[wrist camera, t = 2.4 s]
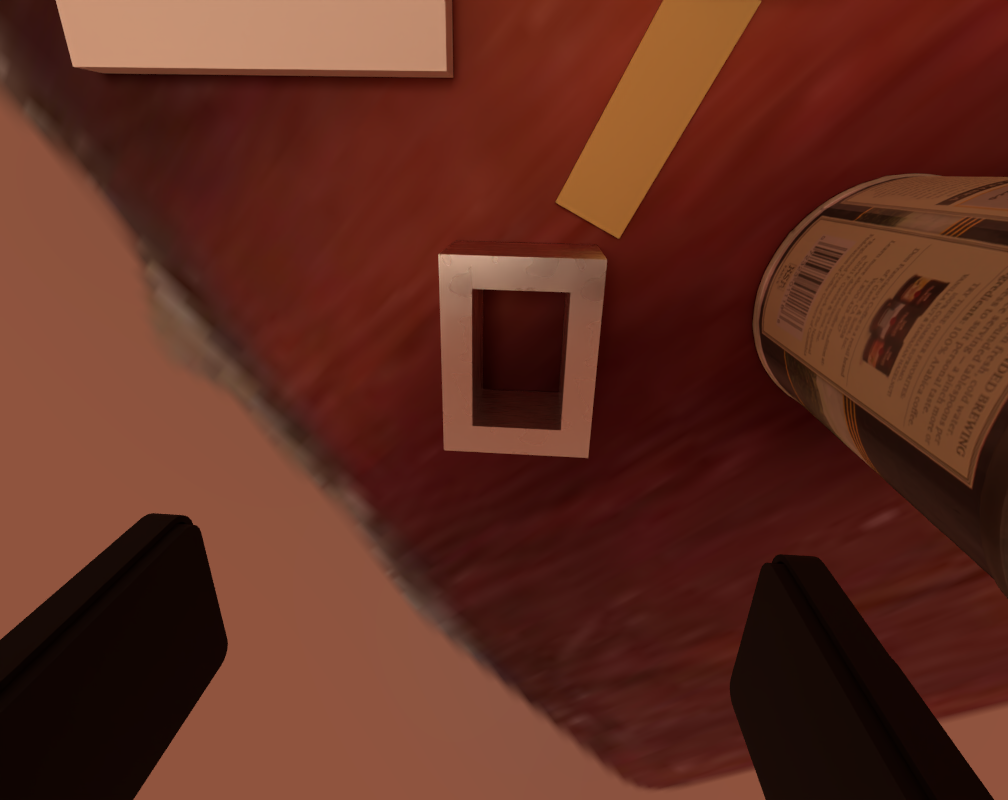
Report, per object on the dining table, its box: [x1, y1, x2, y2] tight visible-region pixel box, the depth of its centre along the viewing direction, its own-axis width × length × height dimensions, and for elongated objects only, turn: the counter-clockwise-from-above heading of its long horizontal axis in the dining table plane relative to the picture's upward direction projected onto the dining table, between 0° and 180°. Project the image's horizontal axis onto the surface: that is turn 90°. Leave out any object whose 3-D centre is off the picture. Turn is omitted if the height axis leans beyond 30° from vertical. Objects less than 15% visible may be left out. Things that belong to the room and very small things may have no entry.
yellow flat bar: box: [555, 0, 761, 239], centre depth 20 cm, size 9×3×1 cm, turn 152°
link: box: [438, 241, 607, 458], centre depth 22 cm, size 6×8×4 cm
